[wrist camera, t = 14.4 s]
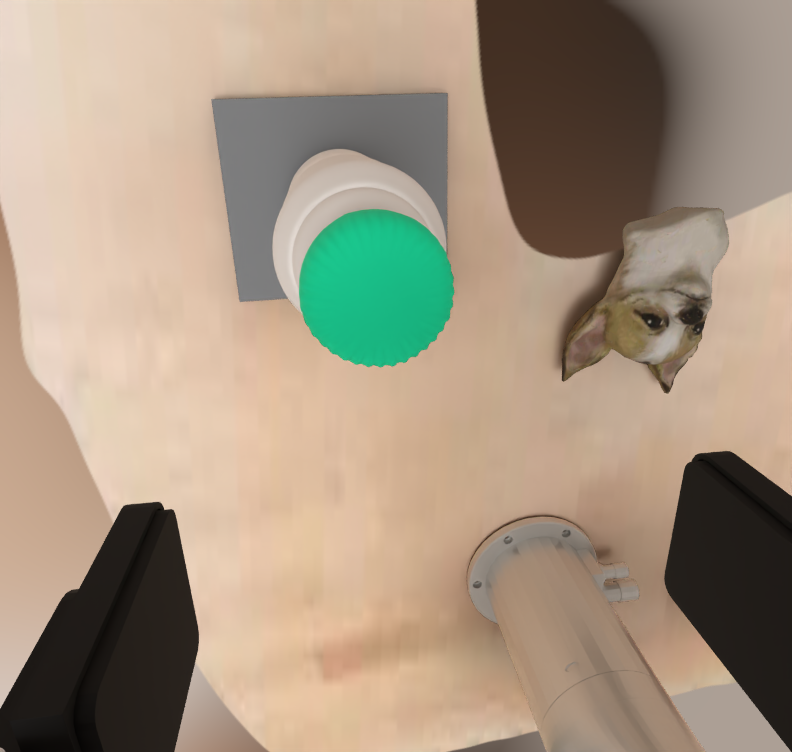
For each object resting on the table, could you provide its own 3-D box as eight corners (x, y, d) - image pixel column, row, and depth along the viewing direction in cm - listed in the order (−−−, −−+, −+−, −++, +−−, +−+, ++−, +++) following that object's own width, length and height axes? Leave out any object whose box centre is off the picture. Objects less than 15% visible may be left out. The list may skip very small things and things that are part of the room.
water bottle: (304, 132, 38) (295, 130, 15) (406, 170, 39) (537, 221, 17) (275, 237, 40) (229, 376, 17) (372, 268, 42) (448, 433, 19)
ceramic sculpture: (811, 227, 37) (716, 430, 43) (726, 204, 45) (656, 378, 51) (660, 200, 35) (583, 416, 41) (599, 180, 43) (542, 364, 49)
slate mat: (443, 94, 39) (447, 93, 38) (443, 284, 44) (446, 288, 43) (214, 100, 37) (211, 99, 36) (241, 297, 42) (239, 301, 41)
